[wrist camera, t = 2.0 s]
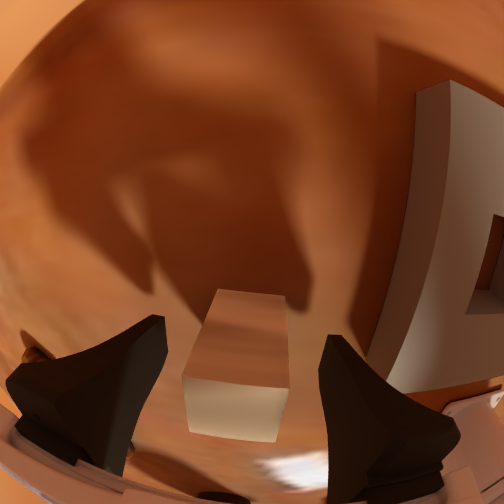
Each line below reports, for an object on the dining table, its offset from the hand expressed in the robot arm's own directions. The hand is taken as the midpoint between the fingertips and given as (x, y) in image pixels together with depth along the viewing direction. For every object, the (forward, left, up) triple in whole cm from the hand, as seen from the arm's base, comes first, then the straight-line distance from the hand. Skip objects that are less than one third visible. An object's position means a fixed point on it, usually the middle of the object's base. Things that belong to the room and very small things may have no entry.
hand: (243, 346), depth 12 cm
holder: (+5, -12, -2) cm, 13 cm away
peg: (0, 0, -2) cm, 2 cm away
